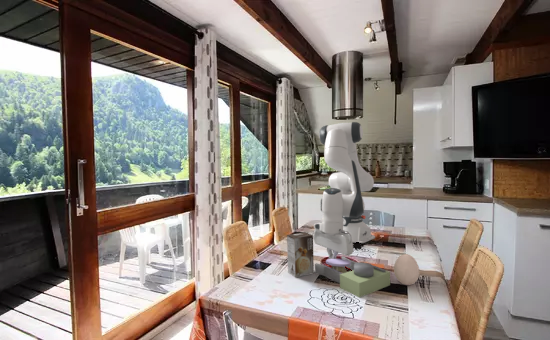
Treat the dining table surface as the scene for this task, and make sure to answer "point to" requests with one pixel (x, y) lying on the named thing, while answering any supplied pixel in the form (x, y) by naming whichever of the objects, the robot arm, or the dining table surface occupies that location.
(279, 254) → the dining table surface
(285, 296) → the dining table surface
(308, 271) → the coffee box
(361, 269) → the green block with dome
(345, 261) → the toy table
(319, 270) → the chute mount
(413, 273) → the egg
